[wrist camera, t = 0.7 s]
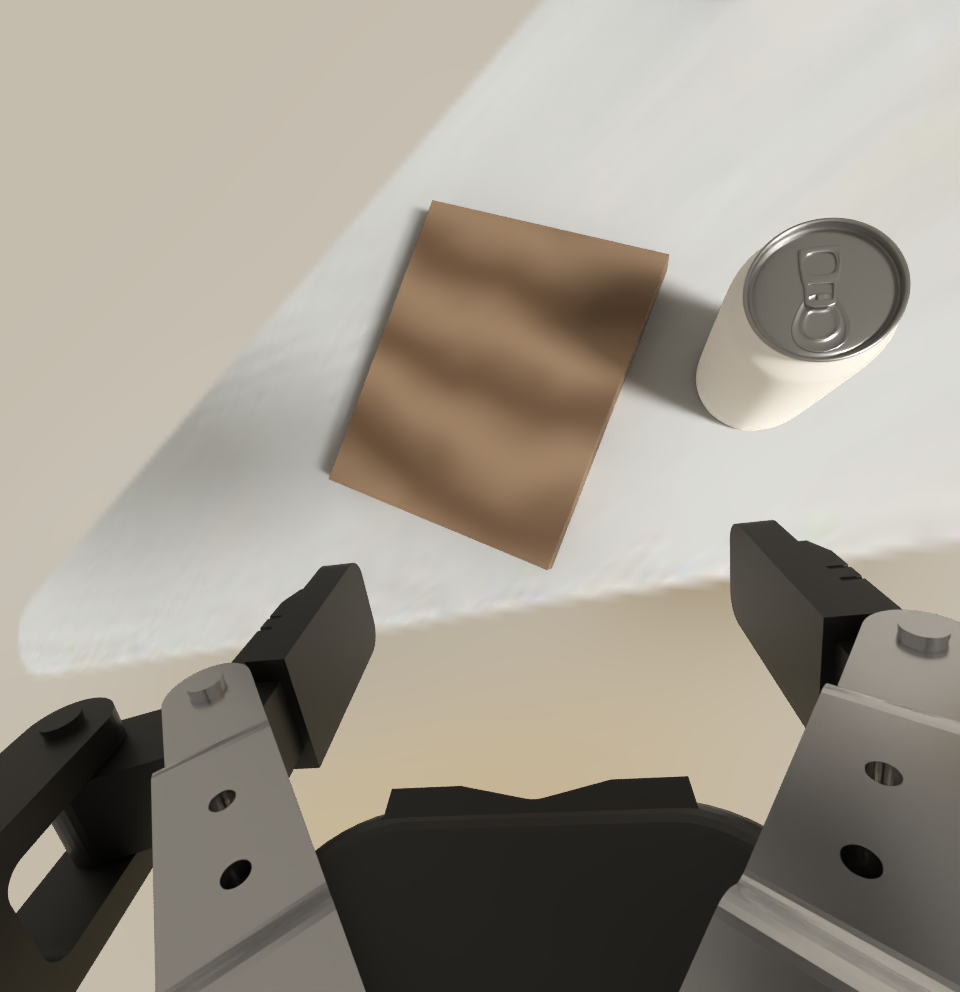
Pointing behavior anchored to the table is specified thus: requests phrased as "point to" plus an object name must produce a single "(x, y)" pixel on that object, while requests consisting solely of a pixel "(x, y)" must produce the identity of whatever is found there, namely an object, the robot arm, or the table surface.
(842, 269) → the can
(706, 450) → the table surface
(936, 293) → the table surface
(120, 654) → the table surface
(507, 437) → the serving board
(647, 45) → the table surface
